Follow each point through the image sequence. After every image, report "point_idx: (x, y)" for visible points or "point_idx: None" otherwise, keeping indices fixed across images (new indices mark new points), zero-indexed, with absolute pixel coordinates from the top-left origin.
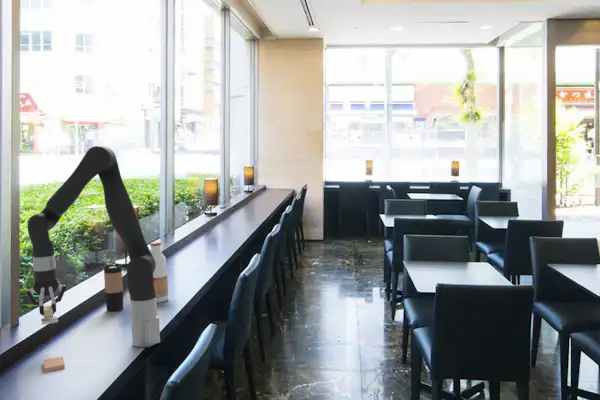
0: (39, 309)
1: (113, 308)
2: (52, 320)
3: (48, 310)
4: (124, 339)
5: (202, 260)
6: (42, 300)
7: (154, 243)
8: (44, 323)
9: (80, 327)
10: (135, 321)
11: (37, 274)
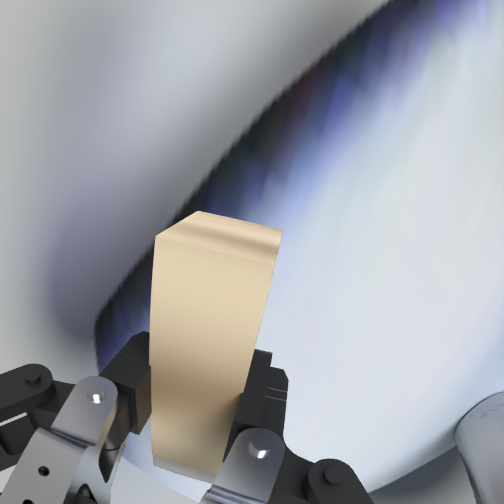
0: (117, 364)
1: None
2: (209, 473)
3: (186, 463)
4: (491, 359)
5: None
6: (104, 481)
7: None
8: (165, 466)
9: (464, 55)
10: (474, 495)
11: None
